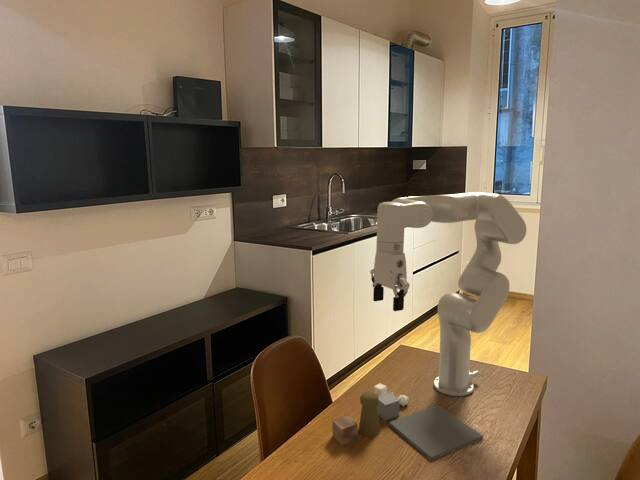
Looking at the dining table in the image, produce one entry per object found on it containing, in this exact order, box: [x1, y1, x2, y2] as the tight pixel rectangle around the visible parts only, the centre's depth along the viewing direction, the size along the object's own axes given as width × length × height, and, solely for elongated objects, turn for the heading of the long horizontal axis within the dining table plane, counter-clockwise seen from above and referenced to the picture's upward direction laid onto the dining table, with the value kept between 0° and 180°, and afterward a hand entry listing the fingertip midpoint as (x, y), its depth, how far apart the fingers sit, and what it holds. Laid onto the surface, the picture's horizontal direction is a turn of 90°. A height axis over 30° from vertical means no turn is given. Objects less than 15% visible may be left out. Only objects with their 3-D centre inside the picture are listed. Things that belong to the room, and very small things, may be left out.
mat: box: [388, 404, 484, 461], centre depth 135 cm, size 18×18×1 cm
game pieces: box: [373, 382, 410, 407], centre depth 152 cm, size 12×3×3 cm, turn 44°
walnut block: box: [331, 414, 359, 447], centre depth 132 cm, size 5×5×5 cm
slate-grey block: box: [377, 392, 400, 421], centre depth 144 cm, size 5×5×5 cm
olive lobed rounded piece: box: [358, 390, 381, 437], centre depth 135 cm, size 6×6×11 cm
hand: (387, 305), depth 138 cm, fingers open, 9 cm apart
